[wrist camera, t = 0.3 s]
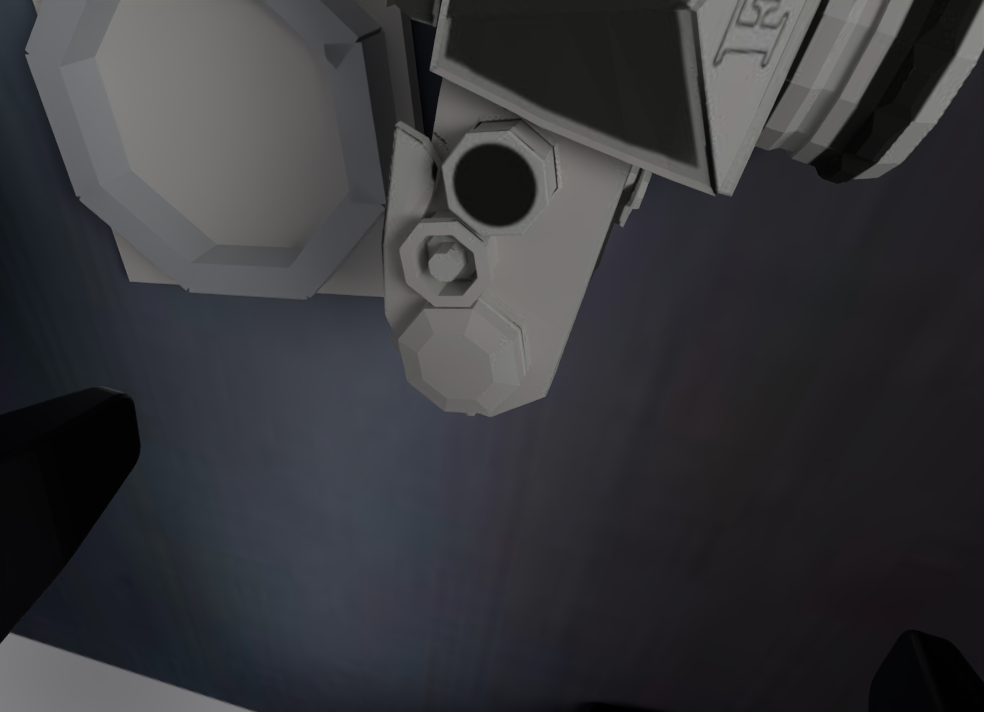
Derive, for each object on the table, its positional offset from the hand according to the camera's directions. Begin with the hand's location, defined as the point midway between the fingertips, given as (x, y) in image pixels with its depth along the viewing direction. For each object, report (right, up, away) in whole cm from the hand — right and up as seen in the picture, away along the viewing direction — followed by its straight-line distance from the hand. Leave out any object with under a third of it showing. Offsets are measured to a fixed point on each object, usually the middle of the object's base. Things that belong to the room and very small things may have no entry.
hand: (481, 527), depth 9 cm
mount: (-7, +9, +14) cm, 18 cm away
